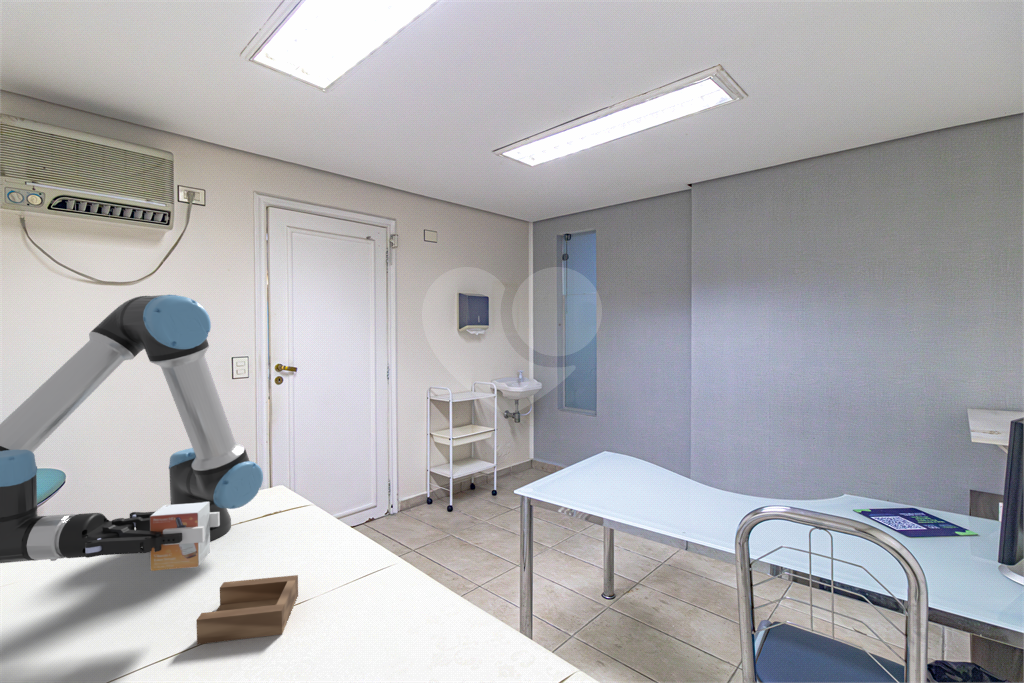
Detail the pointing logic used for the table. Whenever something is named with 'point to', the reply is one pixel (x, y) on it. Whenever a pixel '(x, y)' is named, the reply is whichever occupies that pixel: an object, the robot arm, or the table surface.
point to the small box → (180, 518)
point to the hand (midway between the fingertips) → (211, 526)
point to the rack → (249, 610)
